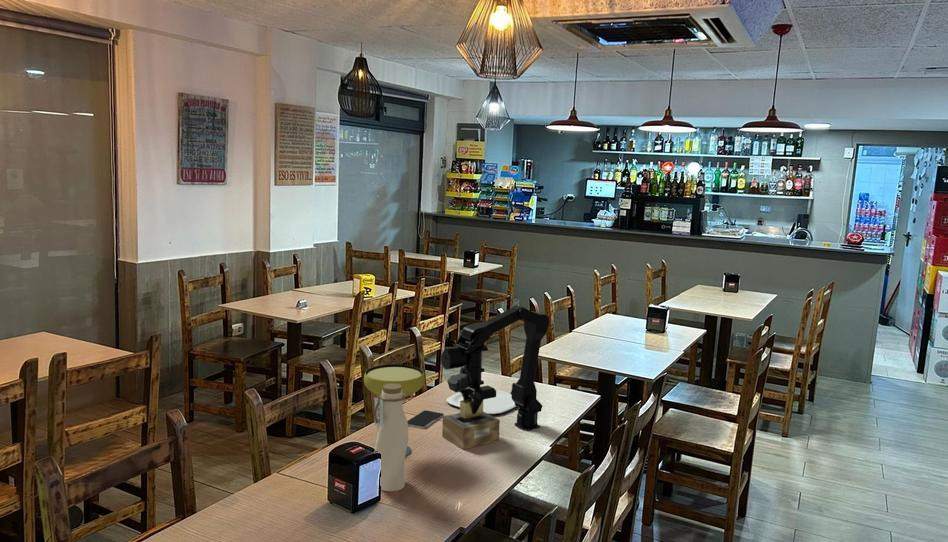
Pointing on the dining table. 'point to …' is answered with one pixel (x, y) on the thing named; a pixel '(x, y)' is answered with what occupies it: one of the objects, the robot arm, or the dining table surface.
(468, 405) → the wooden block
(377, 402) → the water bottle
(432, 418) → the smartphone
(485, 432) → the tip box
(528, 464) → the dining table surface
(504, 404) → the plate
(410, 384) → the cocktail glass
